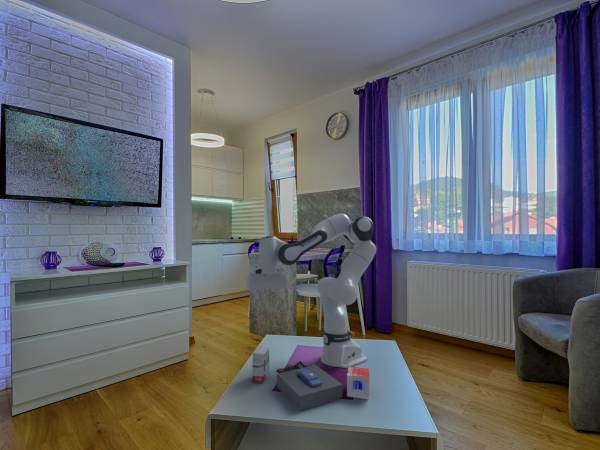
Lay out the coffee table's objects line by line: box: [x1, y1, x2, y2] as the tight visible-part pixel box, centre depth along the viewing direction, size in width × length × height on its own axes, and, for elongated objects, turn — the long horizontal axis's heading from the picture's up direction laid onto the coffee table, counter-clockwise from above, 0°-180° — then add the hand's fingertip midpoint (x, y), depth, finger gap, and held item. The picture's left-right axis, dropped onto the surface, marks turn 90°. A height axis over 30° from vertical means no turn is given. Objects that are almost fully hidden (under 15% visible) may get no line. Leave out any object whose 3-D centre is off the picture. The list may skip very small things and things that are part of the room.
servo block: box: [296, 368, 322, 387], centre depth 120 cm, size 4×13×8 cm, turn 29°
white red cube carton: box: [346, 366, 370, 400], centre depth 120 cm, size 8×8×8 cm
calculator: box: [276, 360, 307, 374], centre depth 135 cm, size 9×12×3 cm
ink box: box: [251, 345, 270, 384], centre depth 131 cm, size 9×5×12 cm, turn 168°
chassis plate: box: [276, 364, 343, 412], centre depth 120 cm, size 18×19×5 cm
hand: (267, 297), depth 152 cm, fingers open, 8 cm apart
